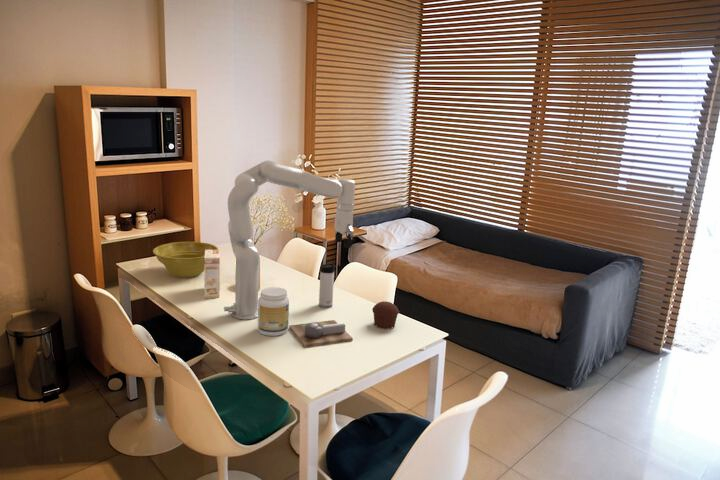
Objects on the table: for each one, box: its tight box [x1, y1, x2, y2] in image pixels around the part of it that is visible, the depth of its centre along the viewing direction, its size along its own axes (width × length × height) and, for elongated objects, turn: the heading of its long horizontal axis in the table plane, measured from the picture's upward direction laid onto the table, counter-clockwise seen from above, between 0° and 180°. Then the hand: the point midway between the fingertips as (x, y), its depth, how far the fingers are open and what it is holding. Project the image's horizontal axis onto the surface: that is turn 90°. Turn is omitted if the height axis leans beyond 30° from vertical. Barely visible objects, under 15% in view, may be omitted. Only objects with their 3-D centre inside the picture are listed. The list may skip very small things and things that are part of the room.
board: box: [288, 319, 353, 348], centre depth 212 cm, size 20×19×1 cm
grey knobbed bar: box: [305, 322, 346, 339], centre depth 209 cm, size 16×7×4 cm, turn 115°
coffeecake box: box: [203, 249, 221, 299], centre depth 249 cm, size 15×7×20 cm, turn 14°
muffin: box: [372, 300, 400, 330], centre depth 225 cm, size 12×11×10 cm
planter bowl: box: [152, 241, 219, 278], centre depth 274 cm, size 32×32×13 cm
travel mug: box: [318, 263, 336, 309], centre depth 241 cm, size 6×7×20 cm
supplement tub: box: [257, 286, 290, 337], centre depth 211 cm, size 12×12×17 cm
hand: (343, 244), depth 236 cm, fingers open, 9 cm apart
